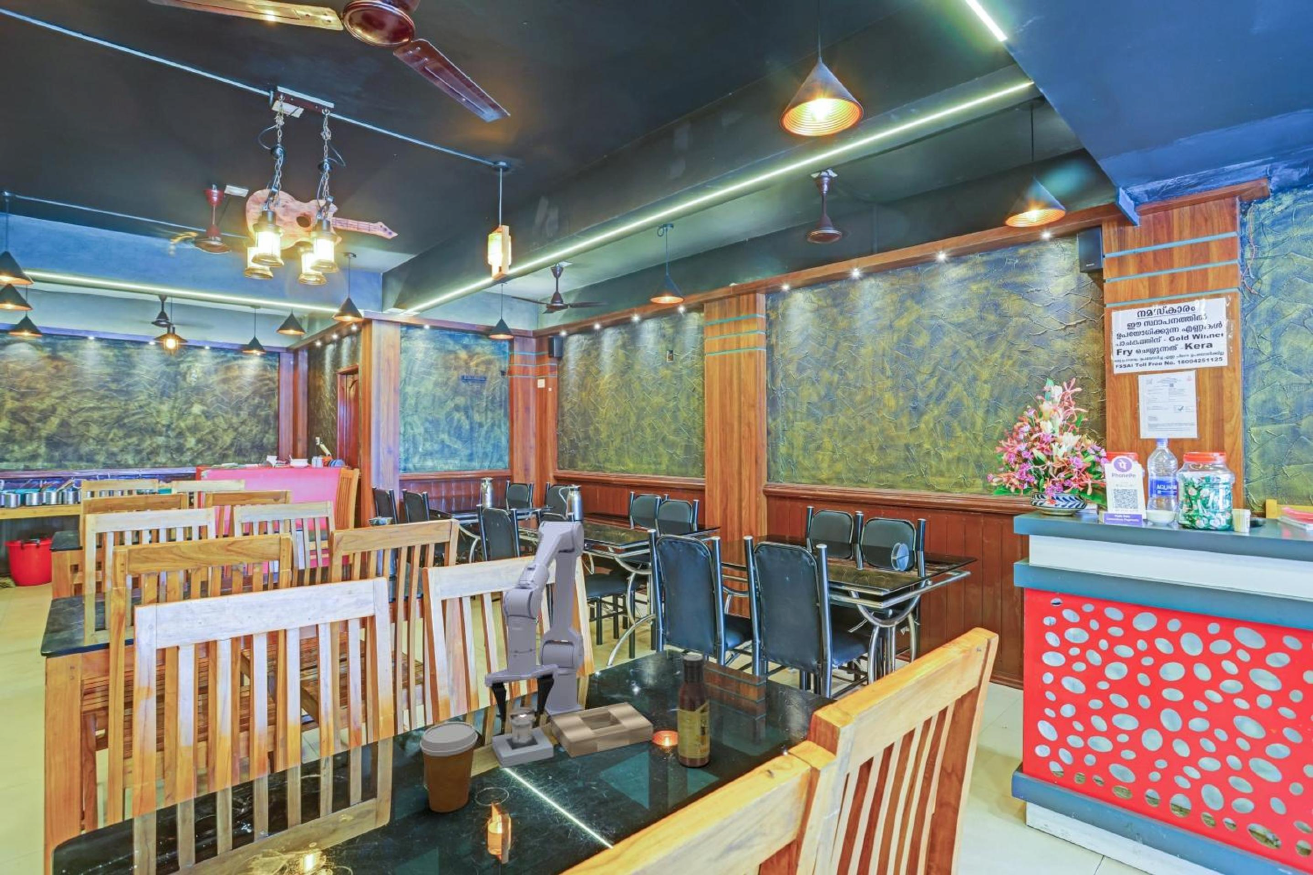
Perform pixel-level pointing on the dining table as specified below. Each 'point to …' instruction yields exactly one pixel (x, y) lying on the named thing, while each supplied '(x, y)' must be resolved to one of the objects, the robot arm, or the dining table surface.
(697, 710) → the sauce bottle
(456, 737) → the disposable coffee cup
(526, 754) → the frame
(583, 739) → the dock
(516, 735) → the steel pin
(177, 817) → the dining table surface
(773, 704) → the dining table surface
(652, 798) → the dining table surface
